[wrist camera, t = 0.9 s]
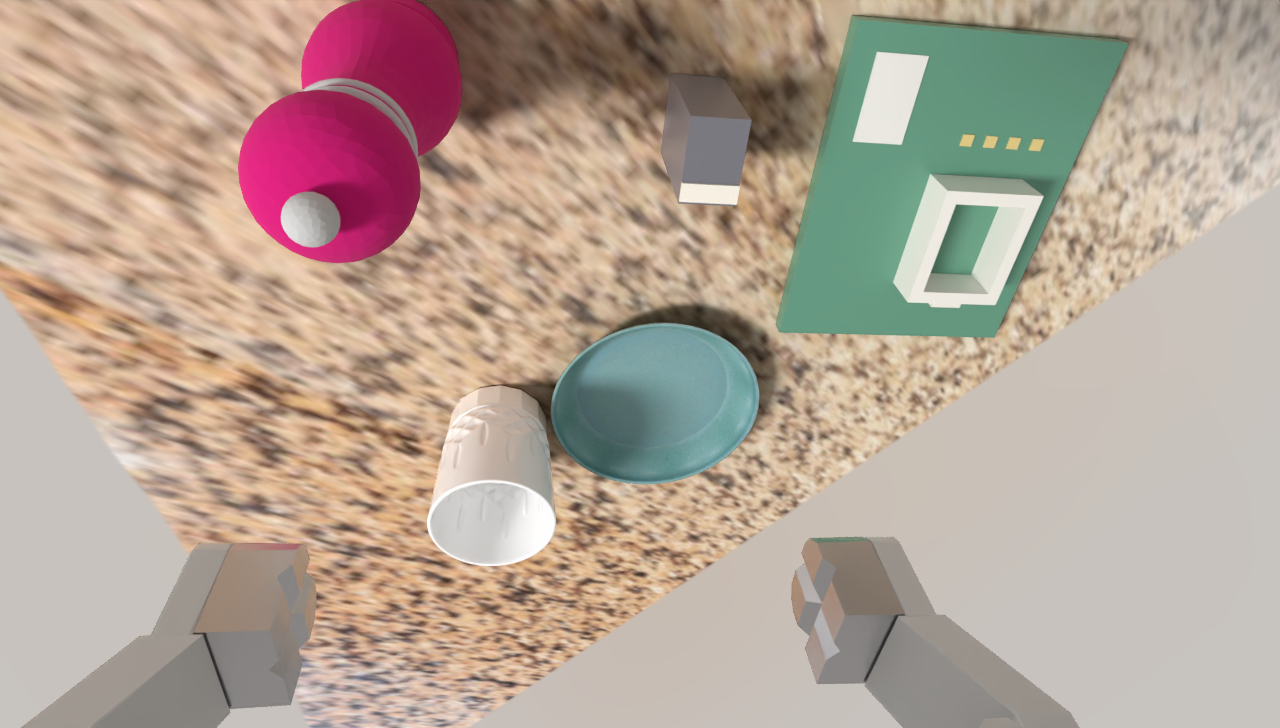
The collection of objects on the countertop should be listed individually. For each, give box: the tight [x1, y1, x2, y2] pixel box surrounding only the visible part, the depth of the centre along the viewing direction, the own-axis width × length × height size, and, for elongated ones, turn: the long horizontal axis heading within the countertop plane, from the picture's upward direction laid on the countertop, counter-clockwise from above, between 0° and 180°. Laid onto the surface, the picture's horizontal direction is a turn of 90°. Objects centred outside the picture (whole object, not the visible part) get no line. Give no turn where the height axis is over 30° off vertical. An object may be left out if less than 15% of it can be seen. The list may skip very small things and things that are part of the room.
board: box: [776, 15, 1129, 338], centre depth 46 cm, size 20×16×4 cm
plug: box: [661, 73, 752, 206], centre depth 40 cm, size 4×3×7 cm, turn 174°
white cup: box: [427, 385, 556, 566], centre depth 51 cm, size 8×8×10 cm
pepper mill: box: [238, 0, 462, 263], centre depth 32 cm, size 7×7×20 cm
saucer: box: [551, 322, 760, 484], centre depth 54 cm, size 15×15×3 cm
